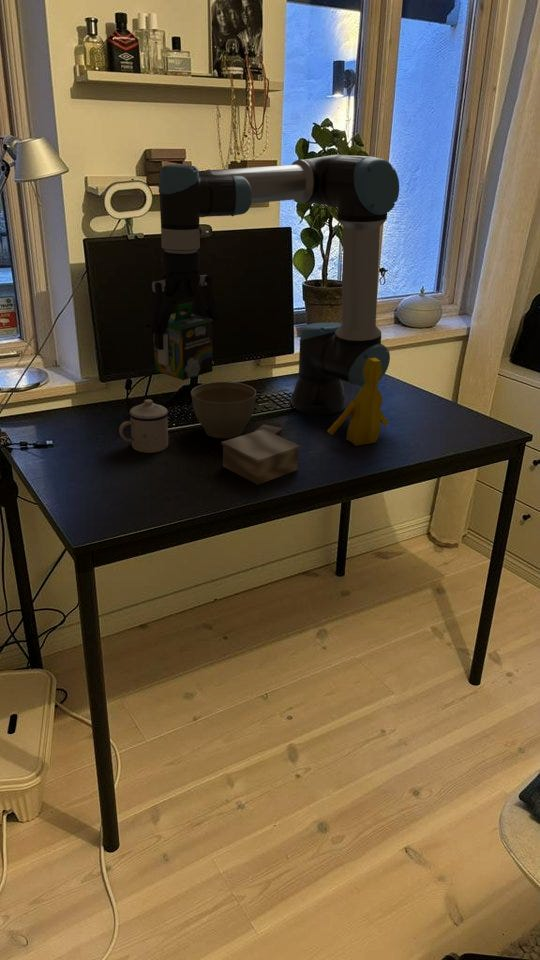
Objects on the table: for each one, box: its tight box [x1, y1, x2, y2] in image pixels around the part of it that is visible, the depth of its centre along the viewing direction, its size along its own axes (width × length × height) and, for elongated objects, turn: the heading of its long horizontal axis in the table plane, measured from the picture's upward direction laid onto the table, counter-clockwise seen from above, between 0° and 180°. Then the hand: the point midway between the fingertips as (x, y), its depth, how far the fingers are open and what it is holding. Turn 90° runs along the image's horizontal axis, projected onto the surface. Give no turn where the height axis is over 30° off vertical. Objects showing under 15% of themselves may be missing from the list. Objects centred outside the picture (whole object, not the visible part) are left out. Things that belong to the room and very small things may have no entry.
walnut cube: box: [253, 424, 283, 438], centre depth 175 cm, size 5×5×5 cm
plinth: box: [220, 429, 302, 485], centre depth 164 cm, size 13×13×6 cm
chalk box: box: [152, 301, 214, 381], centre depth 152 cm, size 9×9×15 cm
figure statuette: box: [326, 357, 389, 446], centre depth 177 cm, size 18×8×22 cm, turn 116°
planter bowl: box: [190, 381, 257, 439], centre depth 182 cm, size 16×16×11 cm
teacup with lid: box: [118, 398, 169, 454], centre depth 172 cm, size 12×9×12 cm
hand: (183, 359), depth 154 cm, fingers closed on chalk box, 9 cm apart
